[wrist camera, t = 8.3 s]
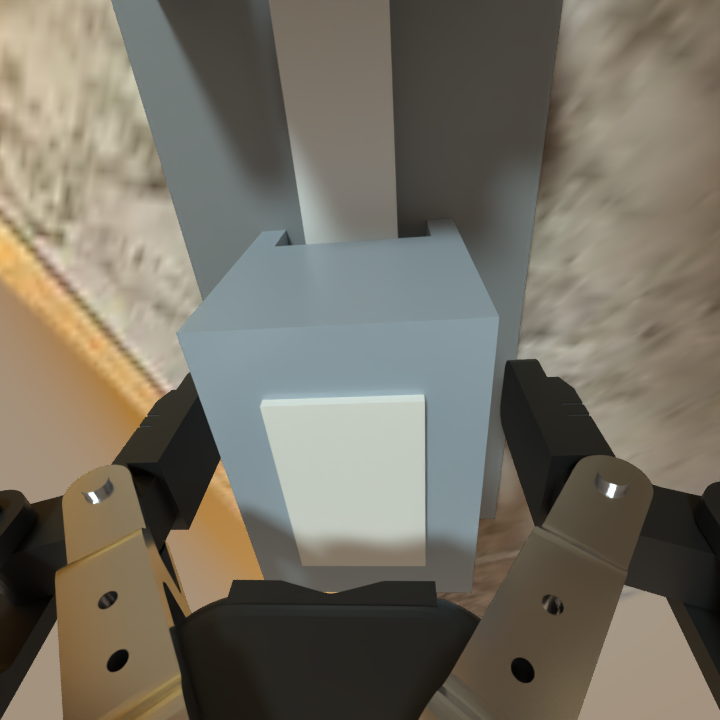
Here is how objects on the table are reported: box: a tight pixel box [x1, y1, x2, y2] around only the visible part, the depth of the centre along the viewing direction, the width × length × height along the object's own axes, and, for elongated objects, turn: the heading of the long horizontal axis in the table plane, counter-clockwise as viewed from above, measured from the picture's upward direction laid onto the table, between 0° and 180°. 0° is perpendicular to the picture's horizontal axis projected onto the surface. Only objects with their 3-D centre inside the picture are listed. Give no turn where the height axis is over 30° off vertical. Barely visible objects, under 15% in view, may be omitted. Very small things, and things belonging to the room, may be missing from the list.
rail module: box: [176, 218, 499, 593], centre depth 12 cm, size 8×5×6 cm
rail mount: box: [111, 0, 563, 519], centre depth 12 cm, size 22×10×6 cm, turn 5°
